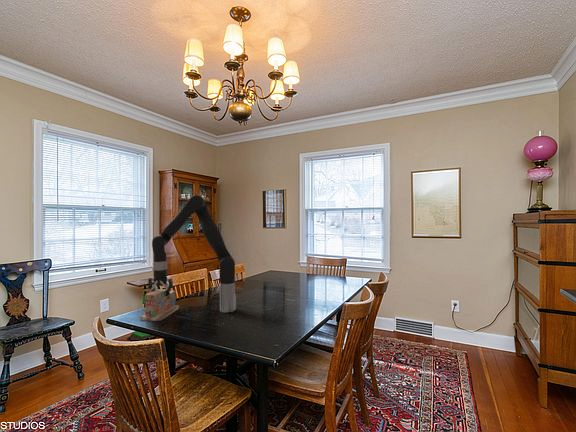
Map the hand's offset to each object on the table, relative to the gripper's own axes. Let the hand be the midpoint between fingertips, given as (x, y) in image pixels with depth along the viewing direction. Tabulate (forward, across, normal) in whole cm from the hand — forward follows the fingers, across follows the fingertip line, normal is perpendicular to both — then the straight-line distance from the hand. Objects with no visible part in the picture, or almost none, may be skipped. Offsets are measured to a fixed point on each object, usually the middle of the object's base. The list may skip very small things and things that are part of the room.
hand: (160, 295), depth 178 cm
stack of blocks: (+9, 0, 0) cm, 9 cm away
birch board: (+11, 0, 0) cm, 11 cm away
